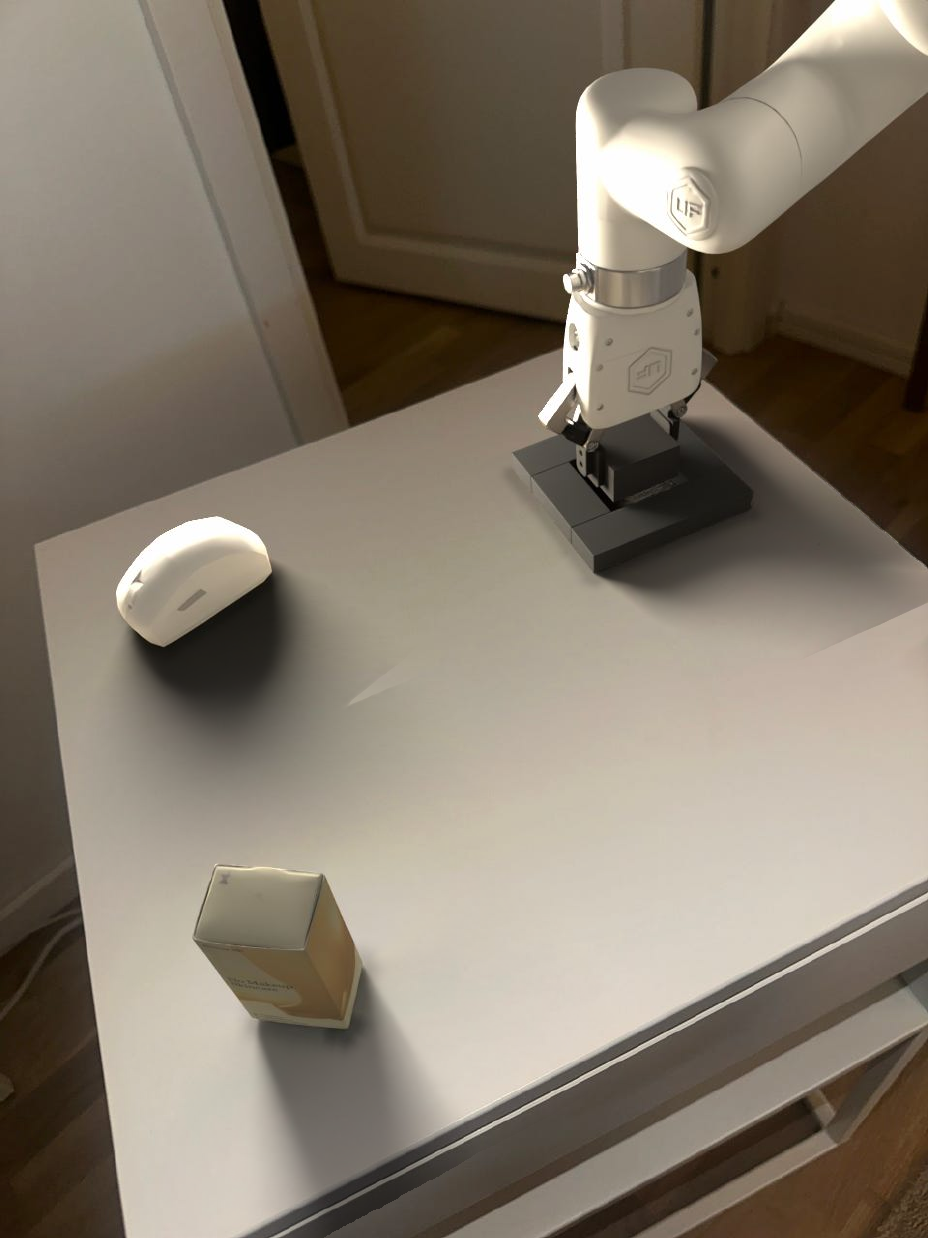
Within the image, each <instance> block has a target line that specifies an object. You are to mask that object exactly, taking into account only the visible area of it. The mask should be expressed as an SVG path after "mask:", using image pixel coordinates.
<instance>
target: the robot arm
mask: <svg viewBox="0 0 928 1238" xmlns="http://www.w3.org/2000/svg"><path fill="white" fill-rule="evenodd" d="M927 93H928V0H834V1H833V2H832V3H831V4H830V5H829V6H828V7H827V8H826V10H825V11H824V12H823V13H822V14H820V16H819V17H818V18H817V19H816V20H815V21H814V22H813V23H812V24H811V25H810V26H809V27H808V29H806V30H805V32H804V33H802V34H801V36H800V37H799V38H798V39H797V40H796V41H795V42H794V43H792V45H790V47H789V48H787V50H786V51H785V52H783V54H781V56H780V57H778V59H777V60H775V61H774V63H772V64H771V65H770V66H769V67H768V68H766V69H765V70H764V71H762V72H761V73H759V75H757V76H755V77H754V78H752V79H750V80H749V81H748V82H746V83H745V84H743V85H742V86H740V87H739V88H738V89H736V90H734V91H733V92H732V93H731V94H729V95H728V96H726V97H725V98H724V99H722V100H720V101H719V102H718V103H716V104H713V105H711V106H708V107H705V108H702V109H699V110H698V101H697V95H696V92H695V89H694V88H693V86H692V84H691V83H690V82H689V80H687V79H686V78H685V77H683V76H682V75H681V74H679V73H676V72H674V71H672V70H668V69H662V68H654V67H633V68H627V69H621V70H617V71H613V72H611V73H608V74H605V75H603V76H600V77H599V78H597V79H595V80H594V81H593V82H592V83H591V84H590V85H588V86H587V87H585V90H584V91H583V93H582V94H581V96H580V97H579V100H578V103H577V108H576V114H575V116H576V117H575V133H576V134H575V138H576V139H575V141H576V181H577V182H576V183H577V184H576V186H577V189H576V190H577V228H578V229H577V230H578V231H577V232H578V233H577V234H578V236H577V237H578V252H577V253H576V267H575V269H572V271H571V272H568V273H566V274H564V275H563V278H562V282H563V286H564V289H565V291H566V292H567V293H568V294H570V295H571V298H570V302H569V307H568V311H567V313H568V314H567V317H566V324H565V332H564V341H563V342H564V343H563V358H562V359H563V361H562V367H563V369H562V382H563V383H562V384H561V385H560V386H559V387H558V389H557V390H556V392H555V393H554V394H553V396H552V397H551V398H550V399H549V401H548V402H547V404H546V405H545V407H544V408H543V410H542V411H541V412H540V413H539V415H538V420H539V422H540V423H541V424H542V425H543V426H544V427H545V428H546V429H547V431H550V432H552V433H554V434H556V435H561V436H564V437H565V438H566V439H567V440H569V441H571V442H573V443H575V444H576V450H577V467H578V469H579V471H580V473H581V474H580V475H581V476H583V477H587V478H588V479H589V480H590V481H591V482H592V484H593V485H594V486H595V487H596V488H599V487H600V486H602V485H604V460H605V449H604V447H603V446H602V445H601V444H600V441H601V438H602V435H603V433H604V430H605V428H608V427H611V426H614V425H617V424H620V423H623V422H625V421H628V420H630V419H633V418H636V417H638V416H641V415H644V414H646V413H649V412H651V414H650V416H651V417H652V418H653V419H654V420H655V421H656V422H657V423H658V424H659V425H660V426H661V427H662V428H663V429H664V430H665V431H666V432H667V433H668V434H669V435H671V436H672V437H673V438H674V439H675V440H676V441H677V440H678V437H679V424H680V419H681V418H683V417H685V415H686V414H687V412H688V409H689V408H688V404H689V402H690V401H691V400H692V399H693V397H694V396H695V395H696V393H697V392H698V391H699V390H700V388H701V386H702V381H705V379H706V378H707V377H708V375H709V374H710V373H711V372H712V371H713V369H714V368H715V367H716V366H717V364H718V358H717V357H716V356H715V355H714V354H712V353H711V352H710V351H709V350H708V349H706V348H705V347H703V332H702V330H703V329H702V327H703V326H702V313H701V305H700V297H699V291H698V286H697V285H698V284H697V280H696V276H695V275H694V273H693V272H692V271H691V270H689V269H688V267H687V266H688V265H687V264H688V251H689V249H692V250H694V251H696V252H700V253H704V254H707V255H708V254H710V255H720V254H726V253H730V252H733V251H735V250H737V249H740V248H741V247H743V246H745V245H746V244H747V243H750V242H751V241H752V240H754V238H755V237H757V236H758V235H759V234H760V233H762V232H763V231H764V230H766V228H768V227H769V226H770V225H772V223H774V222H775V221H776V220H777V219H779V218H780V217H781V216H782V215H783V214H784V213H785V212H786V211H788V210H789V209H790V208H791V207H792V206H793V205H795V203H797V202H798V201H799V200H800V199H802V198H803V197H804V196H805V195H806V194H808V193H809V192H810V191H811V190H813V189H814V188H815V187H816V186H818V185H819V184H820V183H822V182H823V181H824V180H825V179H826V178H828V177H829V176H830V175H832V173H834V172H835V171H836V170H837V169H838V168H840V167H841V166H842V165H843V164H845V162H846V161H848V160H849V159H850V158H851V157H852V156H853V155H854V154H856V153H857V152H858V151H859V150H860V149H861V148H863V147H864V146H865V145H866V144H867V143H868V142H870V141H871V140H873V139H874V137H876V136H877V135H878V134H879V133H880V132H881V131H883V130H884V129H885V128H886V127H888V126H889V125H890V124H891V123H892V122H893V121H894V120H896V119H897V118H898V117H900V116H901V115H902V114H903V113H904V112H905V111H907V110H908V109H909V108H910V107H911V106H913V105H914V104H915V103H916V102H918V101H919V100H920V99H921V98H923V97H924V96H926V94H927ZM575 404H577V408H576V410H575V413H574V415H573V418H570V417H568V416H567V415H568V413H569V412H570V411H571V409H573V407H574V406H575ZM587 425H589V428H588V427H587Z"/></svg>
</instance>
